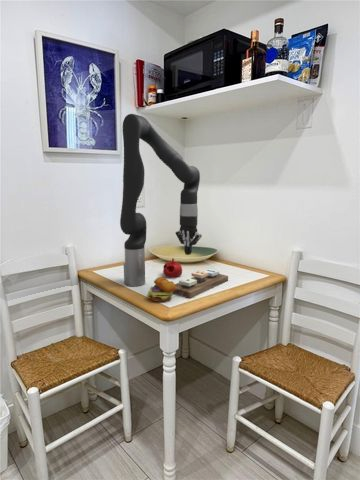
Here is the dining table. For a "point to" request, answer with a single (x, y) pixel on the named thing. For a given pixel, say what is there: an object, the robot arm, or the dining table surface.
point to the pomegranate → (172, 269)
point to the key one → (187, 282)
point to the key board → (200, 286)
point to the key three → (212, 273)
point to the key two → (200, 275)
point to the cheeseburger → (161, 290)
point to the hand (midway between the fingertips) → (188, 254)
